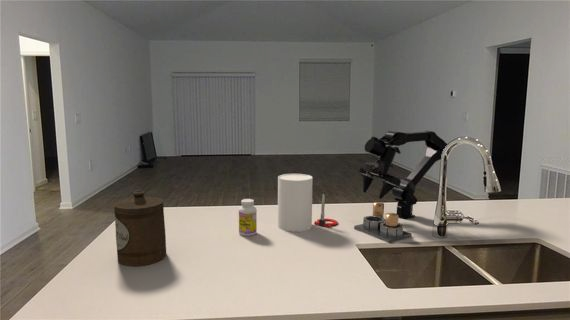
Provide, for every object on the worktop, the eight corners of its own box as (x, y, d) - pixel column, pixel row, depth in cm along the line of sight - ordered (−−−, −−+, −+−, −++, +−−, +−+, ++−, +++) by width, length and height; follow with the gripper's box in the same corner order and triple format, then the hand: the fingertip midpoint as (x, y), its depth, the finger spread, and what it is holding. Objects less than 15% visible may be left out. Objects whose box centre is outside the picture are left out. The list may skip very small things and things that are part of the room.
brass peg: (377, 217, 173) (378, 201, 172) (385, 219, 169) (386, 203, 168) (370, 218, 171) (370, 202, 169) (377, 221, 167) (378, 205, 166)
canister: (312, 221, 166) (313, 174, 163) (311, 232, 153) (311, 181, 150) (279, 220, 168) (280, 173, 165) (275, 231, 154) (276, 180, 151)
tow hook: (323, 219, 170) (311, 224, 163) (324, 190, 169) (313, 193, 161) (341, 223, 165) (330, 228, 158) (342, 192, 164) (332, 196, 156)
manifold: (354, 228, 157) (354, 208, 156) (376, 223, 164) (377, 204, 163) (388, 242, 142) (389, 220, 141) (411, 236, 149) (412, 215, 148)
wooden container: (118, 251, 133) (114, 186, 130) (164, 246, 138) (161, 183, 135) (116, 269, 120) (112, 197, 116) (168, 262, 125) (165, 193, 121)
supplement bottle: (235, 234, 150) (234, 201, 148) (245, 229, 156) (244, 197, 154) (250, 237, 147) (250, 203, 145) (259, 232, 153) (259, 199, 151)
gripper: (357, 150, 169) (343, 184, 169) (390, 158, 154) (375, 196, 154) (374, 157, 175) (361, 191, 175) (407, 167, 160) (393, 203, 160)
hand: (371, 195), depth 166 cm, fingers open, 9 cm apart
